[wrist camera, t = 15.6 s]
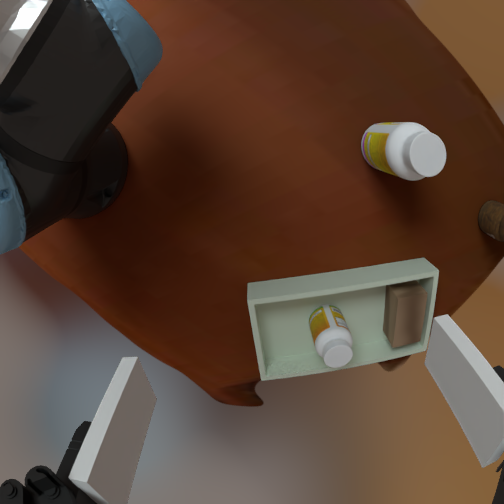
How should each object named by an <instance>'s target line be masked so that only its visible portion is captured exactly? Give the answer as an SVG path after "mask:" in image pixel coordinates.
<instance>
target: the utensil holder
mask: <svg viewBox="0 0 504 504" xmlns="http://www.w3.org/2000/svg"><path fill="white" fill-rule="evenodd" d="M478 222H479V226H480V228H481V230H482V231H483V232H484V233H485V234H487V235H489V236H490V237H492V238H494V239H496V240H498V241H501V242H504V204H502V203H499V202H497V201H488V202H486V203H485V204H484V205H483V206H482V208H481V210H480V212H479V218H478Z"/></svg>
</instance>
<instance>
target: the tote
mask: <svg viewBox="0 0 504 504" xmlns="http://www.w3.org/2000/svg"><path fill="white" fill-rule="evenodd" d="M438 275H439V270H438V269H437V268H436V267H434V266H433V265H432V264H431V263H430V262H429V261H427V260H426V259H425V258H418V259H412V260H406V261H400V262H393V263H387V264H381V265H374V266H368V267H361V268H354V269H348V270H341V271H334V272H327V273H320V274H313V275H306V276H298V277H291V278H283V279H276V280H268V281H260V282H252V283H248V290H247V302H248V308H249V314H250V319H251V325H252V331H253V336H254V342H255V348H256V353H257V359H258V365H259V370H260V376H261V381H263V380H272V379H282V378H289V377H297V376H304V375H310V374H317V373H324V372H330V371H336V370H341V369H347V368H352V367H357V366H362V365H367V364H372V363H377V362H381V361H386V360H390V359H394V358H399V357H403V356H407V355H411V354H415V353H419V352H422V351H426V349H427V344H428V339H429V334H430V329H431V323H432V317H433V311H434V305H435V298H436V291H437V283H438ZM412 280H416V281H417V282H418V283H419V284H420V285H421V286H422V287H423V288H424V289H425V290H426V292H427V293H428V294H427V302H426V309H425V316H424V322H423V328H422V334H421V340H420V342H416V343H411V344H407V345H403V346H399V347H394V348H392V346H391V344H390V342H389V340H388V339H387V337H386V335H385V333H384V332H383V321H384V308H385V293H386V285H390V284H396V283H401V282H407V281H412ZM323 304H332V305H335V306H337V307H338V308H339V309H340V311H341V312H342V315H343V317H344V319H345V321H346V324H347V326H348V328H349V331H350V333H351V335H352V339H353V343H352V347H351V348H352V351H353V356H352V359H351V360H350V361H349V362H348V363H347V364H346V365H344V366H342V367H338V368H332V367H329V366H327V365H326V364H325V362H324V359H323V358H322V357H321V356H320V355H319V354H318V353H317V351H316V349H315V345H314V342H313V338H312V334H311V330H310V327H309V316H310V313H311V312H312V311H313V310H314V309H315V308H316V307H318V306H320V305H323Z"/></svg>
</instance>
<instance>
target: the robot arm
mask: <svg viewBox="0 0 504 504" xmlns="http://www.w3.org/2000/svg"><path fill="white" fill-rule="evenodd" d="M162 50H163V49H162V44H161V42H160V40H159V38H158V36H157V35H156V33H155V32H154V30H153V29H152V28H151V27H150V25H149V24H148V23H147V22H146V21H145V20H144V18H143V17H142V16H141V15H140V14H139V13H138V12H137V11H136V10H135V9H134V8H133V7H132V6H131V5H130V4H129V3H128V2H127V1H126V0H0V254H3V253H5V252H7V251H10V250H12V249H15V248H17V247H19V246H20V245H21V244H22V243H23V242H25V241H26V240H28V239H29V238H31V237H33V236H34V235H36V234H37V233H39V232H41V231H42V230H44V229H46V228H47V227H49V226H51V225H52V224H54V223H56V222H57V221H59V220H61V219H63V218H75V219H81V218H87V217H91V216H93V215H95V214H97V213H99V212H101V211H102V210H104V209H106V208H107V207H108V206H110V205H111V204H112V203H113V202H114V201H115V199H116V198H117V197H118V195H119V194H120V192H121V190H122V188H123V185H124V183H125V179H126V175H127V167H128V159H127V151H126V147H125V144H124V141H123V139H122V137H121V135H120V133H119V132H118V130H117V129H116V128H115V126H114V125H113V124H112V123H111V122H112V121H113V119H114V118H115V117H116V115H117V114H118V113H119V111H120V110H121V109H122V108H123V106H124V105H125V104H126V102H127V101H128V100H129V99H130V97H131V96H132V95H133V94H134V93H135V91H136V92H138V91H139V90H140V89H141V87H142V83H143V82H144V81H145V79H146V78H147V77H148V75H149V74H150V73H151V72H152V71H153V69H154V68H155V67H156V66H157V65H158V63H159V62H160V60H161V57H162ZM425 365H426V367H427V369H428V370H429V372H430V373H431V375H432V377H433V379H434V380H435V382H436V384H437V385H438V387H439V389H440V390H441V392H442V394H443V395H444V397H445V399H446V401H447V402H448V404H449V406H450V408H451V409H452V411H453V413H454V415H455V417H456V418H457V420H458V422H459V424H460V426H461V428H462V429H463V431H464V433H465V435H466V437H467V439H468V440H469V443H470V444H471V446H472V448H473V450H474V452H475V454H476V456H477V458H478V460H479V462H480V464H481V466H482V468H483V467H485V466H487V465H489V464H491V463H493V462H495V461H497V460H498V459H499V457H500V456H501V455H502V453H503V452H504V369H503V368H502V367H500V366H496V367H494V368H492V367H491V366H490V364H489V363H488V362H487V361H486V359H485V358H484V357H483V356H482V354H481V353H480V352H479V351H478V349H477V348H476V347H475V346H474V345H473V343H472V342H471V341H470V340H469V339H468V337H467V336H466V335H465V334H464V333H463V332H462V330H461V329H460V328H459V327H458V326H457V325H456V324H455V322H454V321H453V320H452V319H451V318H450V317H449V315H448V314H447V315H443V316H439V317H435V318H434V320H433V325H432V331H431V336H430V341H429V346H428V351H427V355H426V359H425ZM156 400H157V398H156V396H155V394H154V392H153V390H152V388H151V385H150V383H149V381H148V379H147V377H146V374H145V372H144V370H143V368H142V366H141V363H140V361H139V358H138V357H123V358H122V360H121V362H120V364H119V366H118V368H117V370H116V373H115V374H114V376H113V378H112V380H111V383H110V385H109V387H108V389H107V391H106V393H105V395H104V397H103V399H102V401H101V404H100V406H99V408H98V410H97V412H96V414H95V417H94V419H93V421H92V422H88V421H84V422H83V423H82V424H81V426H79V427H78V428H77V429H76V431H75V433H74V435H73V438H72V441H71V442H70V444H69V446H68V448H69V449H67V451H66V453H65V455H64V457H63V460H62V462H61V464H60V466H59V469H58V471H57V474H55V473H54V472H52V471H51V469H49V468H48V467H46V466H36V467H34V468H32V469H30V471H29V472H28V473H27V474H26V477H25V486H23V485H22V484H21V483H20V482H19V481H17V480H15V479H9V480H6V481H5V482H4V483H3V484H2V485H1V487H0V504H127V502H128V498H129V494H130V491H131V487H132V483H133V480H134V475H135V472H136V469H137V465H138V461H139V458H140V454H141V451H142V447H143V444H144V440H145V437H146V433H147V430H148V427H149V423H150V420H151V416H152V413H153V410H154V407H155V403H156ZM501 468H502V471H501V475H500V479H499V482H498V486H497V489H496V493H495V496H494V499H493V502H492V504H504V460H503V462H502V463H501V464H500V466H499V467H498V468H497V471H496V472H499V471H500V469H501Z"/></svg>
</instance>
